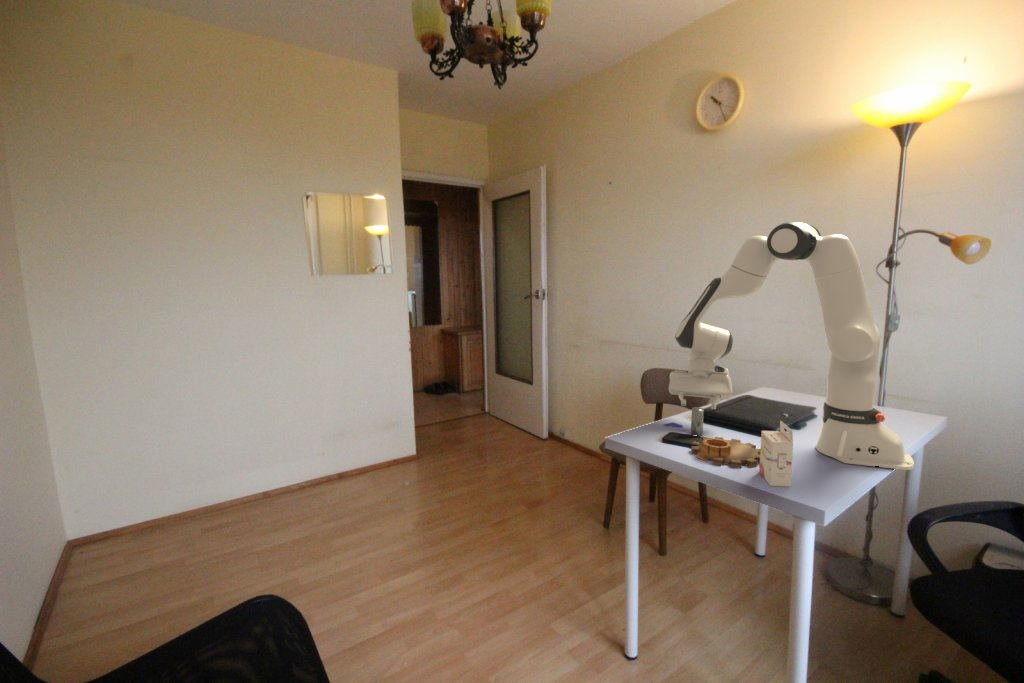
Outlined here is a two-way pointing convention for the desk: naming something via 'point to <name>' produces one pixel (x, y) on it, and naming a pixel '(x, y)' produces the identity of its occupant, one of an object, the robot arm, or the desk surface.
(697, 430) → the pin
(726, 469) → the desk surface
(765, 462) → the ink cartridge box
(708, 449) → the sprocket
